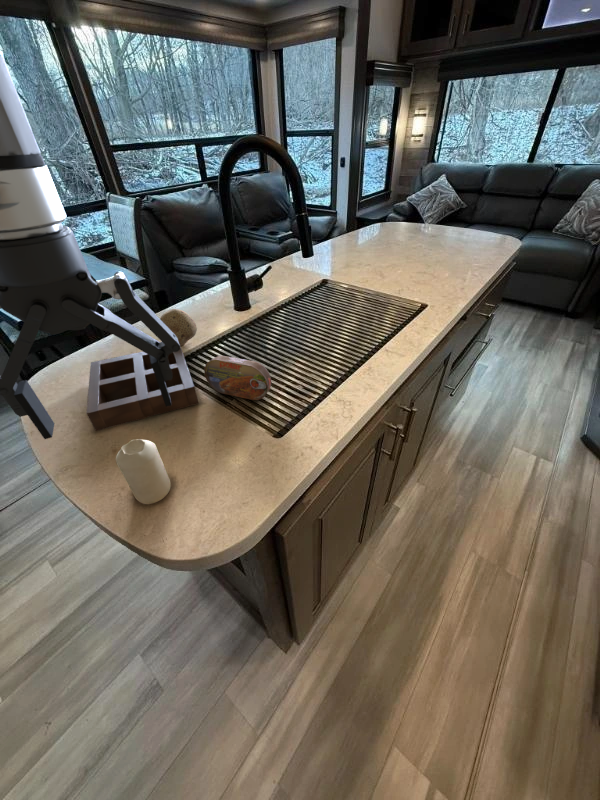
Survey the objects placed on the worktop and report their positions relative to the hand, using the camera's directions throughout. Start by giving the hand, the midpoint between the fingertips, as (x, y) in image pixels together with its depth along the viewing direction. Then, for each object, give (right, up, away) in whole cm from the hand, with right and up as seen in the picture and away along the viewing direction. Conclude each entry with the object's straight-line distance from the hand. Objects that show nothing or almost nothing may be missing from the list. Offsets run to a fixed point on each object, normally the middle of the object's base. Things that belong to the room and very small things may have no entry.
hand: (111, 415), depth 42 cm
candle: (0, -13, +11) cm, 17 cm away
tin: (+11, +3, +31) cm, 33 cm away
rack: (-11, +4, +32) cm, 34 cm away
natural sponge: (-8, +17, +49) cm, 52 cm away
